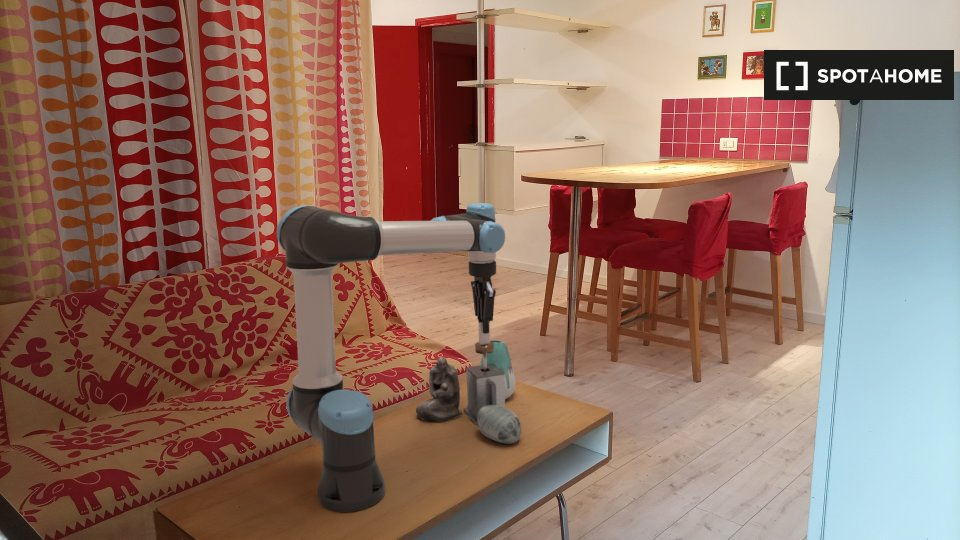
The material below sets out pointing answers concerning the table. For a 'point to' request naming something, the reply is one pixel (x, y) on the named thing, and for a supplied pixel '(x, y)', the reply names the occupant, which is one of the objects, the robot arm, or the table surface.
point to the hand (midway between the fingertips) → (484, 343)
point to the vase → (502, 365)
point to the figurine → (441, 394)
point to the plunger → (484, 352)
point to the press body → (484, 389)
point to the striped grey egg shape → (499, 424)
